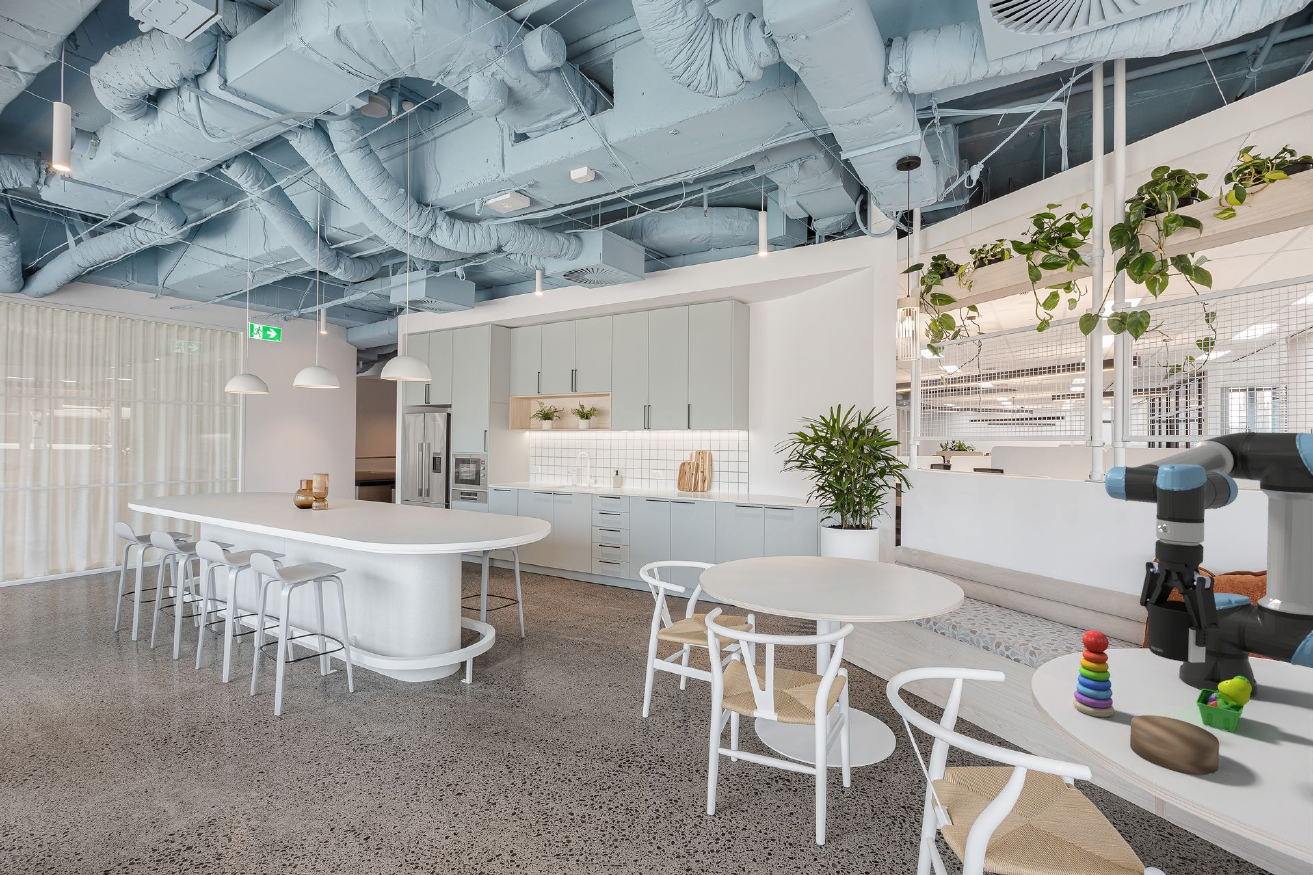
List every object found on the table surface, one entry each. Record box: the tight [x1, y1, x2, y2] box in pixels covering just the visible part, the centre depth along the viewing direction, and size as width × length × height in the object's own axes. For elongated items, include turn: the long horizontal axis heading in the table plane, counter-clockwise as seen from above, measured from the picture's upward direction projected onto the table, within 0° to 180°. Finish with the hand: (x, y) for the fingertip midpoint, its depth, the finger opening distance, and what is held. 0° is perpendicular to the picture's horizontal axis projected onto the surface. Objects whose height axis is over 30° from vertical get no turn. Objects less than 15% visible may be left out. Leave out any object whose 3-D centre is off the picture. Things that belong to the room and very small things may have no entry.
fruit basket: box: [1195, 676, 1252, 733], centre depth 146 cm, size 11×9×11 cm
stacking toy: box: [1072, 629, 1115, 718], centre depth 152 cm, size 8×8×19 cm
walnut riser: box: [1129, 714, 1220, 775], centre depth 132 cm, size 14×14×5 cm
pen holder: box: [1147, 599, 1201, 663], centre depth 131 cm, size 9×9×10 cm
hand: (1175, 652), depth 132 cm, fingers closed on pen holder, 9 cm apart
